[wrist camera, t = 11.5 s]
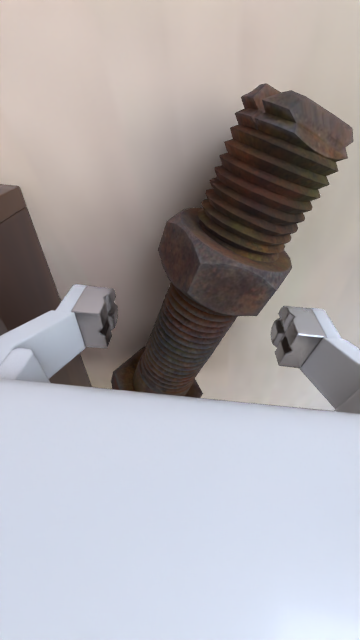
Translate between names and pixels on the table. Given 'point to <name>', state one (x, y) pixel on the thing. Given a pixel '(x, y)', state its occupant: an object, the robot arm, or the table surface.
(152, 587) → the robot arm
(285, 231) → the bolt
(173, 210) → the table surface
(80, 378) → the rectangular frame
